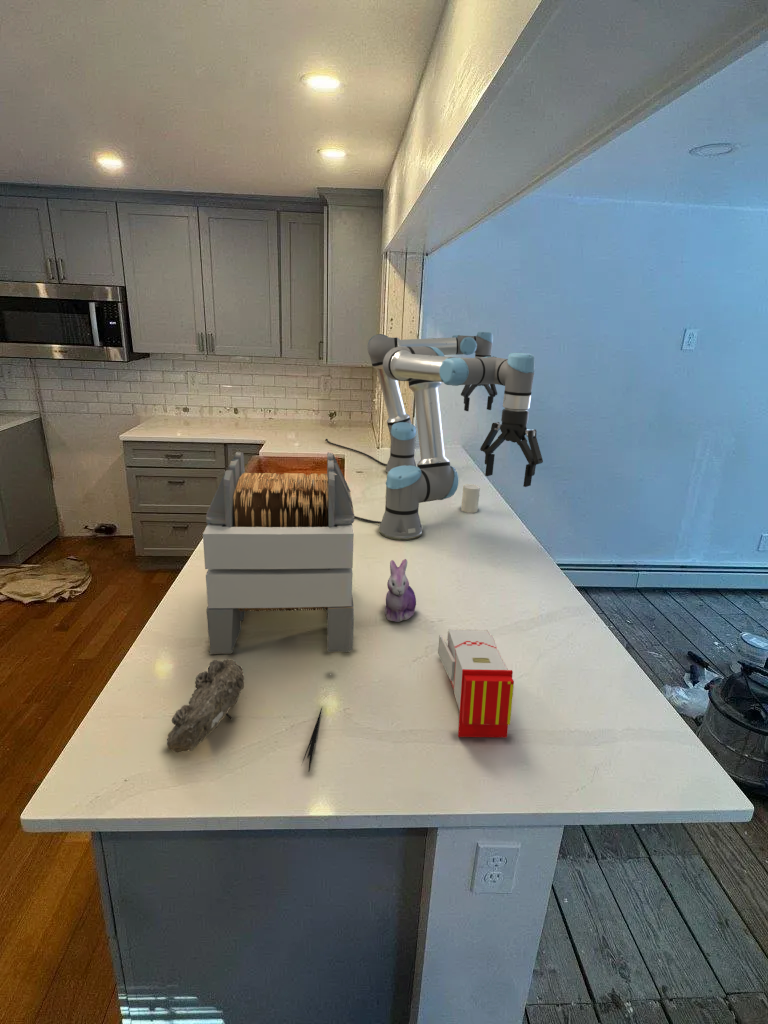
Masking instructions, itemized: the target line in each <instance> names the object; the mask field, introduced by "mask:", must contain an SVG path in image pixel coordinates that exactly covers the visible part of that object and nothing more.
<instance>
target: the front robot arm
mask: <svg viewBox="0 0 768 1024" xmlns="http://www.w3.org/2000/svg"><path fill="white" fill-rule="evenodd" d="M383 369H384V371H385V373H386V375H387V376H388V377H390V378H391V379H393V380H397V381H398V382H407V383H408V389H410V390H411V391H412V392H413V398H414V406H415V407H414V408H415V416H416V426H417V427H416V428H417V436H418V444H419V453H420V460H419V461H418V463H416V466H412V465H409V466H406V465H404V466H398V467H395V468H393V469H391V470H390V471H389V472H388V474H387V473H386V474H387V475H386V479H385V504H384V505H385V507H384V508H385V509H384V513H383V515H382V519H381V521H379V520H372V519H367V518H364V517H359V516H356V515H354V519H356V520H359V521H363V522H368V523H371V524H379V527H378V533H379V534H380V535H381V536H382V537H385V538H387V539H389V540H395V541H410V540H415V539H418V538H420V537H421V536H422V535H423V525H422V524H421V518H420V515H419V507H420V506H419V505H420V503H426V502H434V501H443V500H446V499H450V498H452V497H453V496H454V495H455V494H456V492H457V490H458V487H459V480H460V479H459V474H458V471H456V468H455V467H454V466H452V465H451V461H450V460H449V459H448V457H446V454H445V444H444V443H445V442H444V435H443V427H442V426H443V425H442V415H441V414H442V413H441V405H440V396H439V388H440V386H441V385H442V384H444V385H446V386H453V387H458V386H465V385H470V386H471V385H472V384H474V385H476V384H489V385H490V384H495V385H498V386H504V393H503V399H502V407H503V409H502V411H501V418H500V421H501V422H499V421H496V422H495V421H494V422H492V423H491V427H490V430H489V432H488V433H487V436H486V437H485V439H484V441H483V443H482V445H481V446H480V448H479V449H480V451H481V452H483V453H484V455H485V456H484V465H485V474H484V476H485V477H491V476H493V473H494V464H495V453H494V452H495V451H496V450H497V449H498V448H499V447H500V446H501V445H502V444H503V443H504V442H505V441H506V442H511V443H514V444H515V443H516V444H517V446H519V448H520V450H521V452H522V454H523V455H524V457H525V459H526V462H527V464H526V465H525V471H524V479H523V486H522V487H523V488H527V487H531V486H532V480H533V479H532V478H533V476H535V474H536V467H537V465H539V464H540V465H541V464H543V463H544V460H543V456H542V452H541V449H540V446H539V445H540V444H539V442H538V438H537V432H538V431H537V429H535V428H534V429H528V427H527V425H528V422H529V418H530V417H529V415H530V411H529V410H530V407H531V399H532V392H533V384H534V377H535V371H536V356H535V355H534V354H533V353H525V352H511V353H509V354H508V357H507V358H502V357H497V356H494V355H493V356H491V357H483V358H475V357H457V356H446V355H444V354H443V353H442V351H440V350H439V349H438V348H436V347H429V346H407V347H406V346H400V347H395V348H393V349H391V350H390V351H388V352H387V354H386V355H385V357H384V360H383ZM499 431H500V435H498V436H497V434H498V433H499ZM496 436H497V438H496ZM495 438H496V439H495Z"/></svg>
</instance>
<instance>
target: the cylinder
mask: <svg viewBox="0 0 768 1024" xmlns="http://www.w3.org/2000/svg"><path fill="white" fill-rule="evenodd" d="M480 492H481V486H480V485H477V484H474V483H465V484H463V486H462V496H461V506H460V510H461V511H462V512H464V513H469V514H473V513H474V514H475V513H477V512H479V502H480V494H481V493H480Z"/></svg>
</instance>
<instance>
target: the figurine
mask: <svg viewBox="0 0 768 1024" xmlns="http://www.w3.org/2000/svg"><path fill="white" fill-rule="evenodd" d="M407 567H408V559H406V558H404V559H403V560H402V561H401V563H400V565H399V566H398V565H397V563H396V562H395V561H394V560H393V559H391V560H390V561H389V570H390V576H389V578H388V579H387V589H388V591H387V592H386V594H385V595H386V596H385V607H384V615H385V616H386V620H387V621H391V622H395V623H400V622H402V621H406V620H409V619H410V618H411V617H413V616H414V615H415V610H416V606H417V597H416V593H415V591H414V590H413V587H411V586H410V582H409V579H408V577H407V574H406V571H407Z"/></svg>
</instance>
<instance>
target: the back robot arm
mask: <svg viewBox="0 0 768 1024" xmlns="http://www.w3.org/2000/svg"><path fill="white" fill-rule="evenodd" d="M493 343H494V334H493V333H492V332H490V331H478V332H477V333H476V335H462V334H461V335H460V334H458V335H457V334H456V335H455V334H454V335H452V336H451V337H436V338H435V337H434V338H433V337H431V338H430V337H429V338H411V339H400V338H399V337H389V336H387V335H386V334H384V333H383V334H382V333H379V334H375V335H373V336H372V337H370V338H369V340H368V343H367V354H368V356H369V359H370V363H371V366H372V368H373V369H375V370H376V373H377V377H378V381H379V384H380V388H381V389H380V390H381V393H382V396H383V397H382V398H383V401H384V404H385V408H386V412H387V416H388V418H387V420H386V424H387V429H388V432H389V436H390V446H389V447H390V448H389V450H390V451H389V458H388V460H387V463H384V462H382V461H380V460H378V459H376V458H375V457H373V456H371V455H369V454H367V453H366V452H362V451H360V450H358V449H354V448H351V447H347V446H345V445H340V444H338V443H335V442H331V441H329V440H328V438H325V441H326V443H328V444H330V445H332V446H336V447H339V448H343V449H346V450H349V451H353V452H356V453H359V454H361V455H364V456H366V457H368V458H370V459H372V460H373V461H375V462H376V463H378V464H380V465H382V466H385V473H386V474H388V472H389V471H390V470H391V469H393V468H395V467H398V466H404V465H406V466H409V465H412V466H417V463H416V459H415V450H416V435H417V427H416V425H414V424H413V423H412V420H411V417H410V414H408V413H406V409H405V408H406V407H405V405H404V400H403V396H402V393H401V387H400V384H399V381H397V380H393V379H391V378H390V377H388V376H387V375H386V373H385V371H384V369H383V360H384V357H385V355H386V354H387V352H388V351H390V350H391V349H393V348H395V347H400V346H406V347H407V346H429V347H436V348H438V349H439V350H440V351H442V353H443V354H444V356H455V355H456V356H457V355H459V356H460V355H465V356H469V355H473V354H474V358H483V357H492V351H493ZM481 386H482V387H484V389H485V391H486V392H487V394H488V396H487V402H486V410H488V411H491V410H492V406H493V403H494V398H495V397H496V396H498V391H497V387H496V384H476V385H474V384H472V385H463V388H462V391H461V393H460V396H462V397H463V405H464V407H463V411H464V412H469V410H470V400H471V398H470V395H471V394H472V393H473V391H474V390H475V389H476V388H477V387H481Z"/></svg>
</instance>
